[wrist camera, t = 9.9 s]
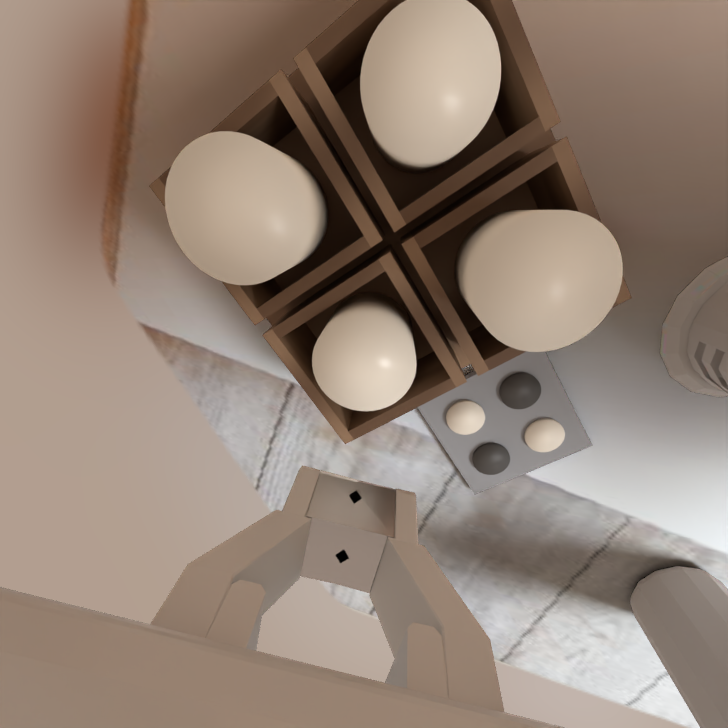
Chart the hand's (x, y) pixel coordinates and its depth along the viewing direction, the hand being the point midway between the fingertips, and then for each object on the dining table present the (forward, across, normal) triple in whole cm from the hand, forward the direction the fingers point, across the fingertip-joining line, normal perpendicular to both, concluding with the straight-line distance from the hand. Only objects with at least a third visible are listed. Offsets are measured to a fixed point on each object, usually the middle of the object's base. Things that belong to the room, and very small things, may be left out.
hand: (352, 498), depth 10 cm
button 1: (+14, +1, -11) cm, 18 cm away
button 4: (+14, +1, 0) cm, 14 cm away
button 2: (+11, +6, -6) cm, 14 cm away
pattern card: (+16, -10, +5) cm, 20 cm away
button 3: (+11, -5, -6) cm, 14 cm away
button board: (+16, +1, -6) cm, 17 cm away
